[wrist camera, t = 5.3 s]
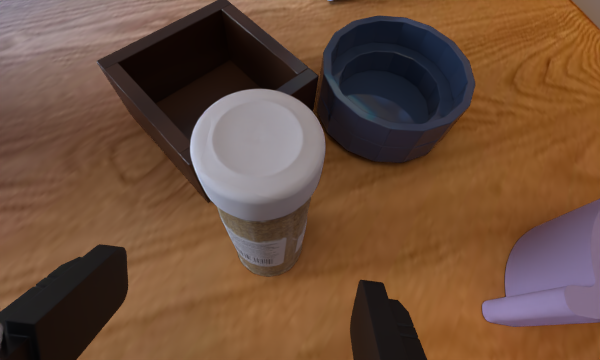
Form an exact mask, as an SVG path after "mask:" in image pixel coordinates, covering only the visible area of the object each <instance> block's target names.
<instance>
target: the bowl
mask: <svg viewBox="0 0 600 360" xmlns="http://www.w3.org/2000/svg"><path fill="white" fill-rule="evenodd" d="M474 88H475V80H474V76H473V73H472V69H471V65H470V62H469V60H468V59H467V58H466V56H465V55H464V54H463V53H462V51H461V50H460V49H459V48H458V46H457V45H456V44H455V43H454V42H453V41H452V40H451V39H449V38H448V37H446V36H445V35H443V34H442V33H440V32H439V31H437V30H436V29H434V28H433V27H431V26H429V25H426V24H423V23H420V22H417V21H414V20H411V19H408V18H404V17H391V16H374V17H369V18H365V19H360V20H355V21H353V22H351V23H350V24H348V25H346V26H345V27H343V28H342V29H340V30H339V31H337V32H335V33H334V35H333V36H332V38H331V40H330V41H329V43H328V45H327V47H326V48H325V50H324V52H323V58H322V64H321V71H320V77H319V83H318V90H317V111H318V114H319V116H320V118H321V120H322V122H323V124H324V127H325V129H326V131H327V132H328V134H329V135H330V136H331V137H333V138H334V139H335V140H336V141H337V142H338V143H339V144H340V145H342V146H343V147H344V148H345V149H346V150H348V151H350V152H352V153H355V154H357V155H360V156H362V157H365V158H367V159H370V160H372V161H377V162H395V163H402V162H406V161H409V160H412V159H415V158H418V157H421V156H424V155H426V154H428V153H429V152H430V151H431V150H432V149H433V148H434V147H435V146H436V145H437V144H438V143H439V142H440V141H441V140H442V139H443V138H444V137H445V135H446V134H447V133H448V132H449V131H450V129H451V128H452V127H453V126H454V124H455V123H456V122H457V121H458V120H459V118H460V117H461V116H462V115H463V114H464V112H465V111H466V110H467V109H468V107H469V106H470V103H471V99H472V96H473V92H474Z"/></svg>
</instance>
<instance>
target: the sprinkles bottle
mask: <svg viewBox="0 0 600 360" xmlns="http://www.w3.org/2000/svg"><path fill="white" fill-rule="evenodd" d="M190 155H191V160H192V163H193V166H194V169H195V172H196V174H197V176H198V179H199V181H200V183H201V185H202V187H203V189H204V191H205V193H206V194H207V196H208V197H209V199H210V200H211V201H212V202H213V203H214V204H215V205H216V206H217V208H218V212H219V215H220V218H221V220H222V222H223V224H224V226H225V228H226V230H227V232H228V234H229V236H230V238H231V240H232V242H233V244H234V246H235V248H236V250H237V253H238V257H239V259H240V260H241V262H242V264H243V265H244V266H245V267H246V268H247V269H248V270H250V271H252V272H253V273H255V274H257V275H261V276H267V277H270V276H276V275H280V274H282V273H284V272H286V271H288V270H289V269H291V268H292V267H293V265H294V264H295V263H296V262H297V260H298V258H299V255H300V253H301V250H302V241H303V238H304V234H305V229H306V224H307V213H308V208H309V204H310V200H311V196H312V194H313V193H314V191H315V189H316V188H317V185H318V183H319V180H320V176H321V172H322V168H323V163H324V157H325V137H324V133H323V129H322V127H321V125H320V123H319V121H318V119H317V117H316V116H315V115H314V113H313V112H312V111H311V110H310V109H309V108H308V107H307V106H306V105H305V104H303V103H302V102H301V101H299V100H297V99H296V98H294V97H292V96H290V95H288V94H285V93H282V92H279V91H275V90H269V89H250V90H243V91H239V92H235V93H232V94H230V95H227V96H225V97H223V98H221V99H219V100H218V101H216V102H215V103H214V104H212V105H211V106H210V107H209V108H208V109H207V110H206V111H205V112H204V113H203V114H202V116H201V117H200V118H199V120H198V121H197V123H196V125H195V127H194V129H193V132H192V136H191V143H190Z"/></svg>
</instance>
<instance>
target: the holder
mask: <svg viewBox="0 0 600 360" xmlns="http://www.w3.org/2000/svg"><path fill="white" fill-rule="evenodd" d="M97 64H98V65H99V67H100V68H101V70H102V71H103V73H104V74H105V76H106V77H107V79H108V80H109V82H110V83H111V85H112V86H113V88H114V89H115V91H116V92H117V94H118V96H119V97H120V99H121V100H122V102H123V103H124V105H125V106H126V108H127V109H128V111H129V112H130V114H131V115H132V116H133V118H134V119H135V120H136V121H137V122H138V123H139V124H140V126H141V127H142V128H143V129H144V130H145V131H146V132H147V134H148V135H149V136H150V137H151V138H152V139H153V140H154V142H155V143H156V144H157V145H158V146H159V147H160V148H161V150H162V151H163V152H164V153H165V154H166V155H167V156H168V158H169V159H170V160H171V161H172V162H173V163H174V164H175V166H176V167H177V168H178V169H179V170H180V171H181V172H182V174H183V175H184V176H185V177H186V178H187V179H188V180H189V182H190V183H191V184H192V185H193V186H194V187H195V188H196V190H197V191H198V192H199V193H200V194H201V195H202V196H203V198H204V199H205V200H206V201H207V202H208V203H209V202H210V201H211V200H210V199H209V197H208V196H207V194H206V193H205V191H204V189H203V187H202V185H201V183H200V181H199V179H198V176H197V174H196V172H195V169H194V166H193V163H192V160H191V155H190V143H191V136H192V132H193V129H194V127H195V125H196V123H197V121H198V120H199V118H200V117H201V116H202V114H203V113H204V112H205V111H206V110H207V109H208V108H209V107H210V106H211V105H212V104H214V103H215V102H216V101H218V100H219V99H221V98H223V97H225V96H227V95H230V94H232V93H235V92H239V91H243V90H250V89H269V90H275V91H279V92H282V93H285V94H288V95H290V96H292V97H294V98H296V99H297V100H299V101H301V102H302V103H303V104H305V105H306V106H307V107H308V108H309V109H310V110H311V111H312V112H313V109H314V102H315V96H316V89H317V83H318V75H317V74H316V73H314V72H313V71H312V70H311V69H310V68H308V67H307V66H306V65H305V64H304V63H302V62H301V61H300V60H299V59H298V58H296V57H295V56H294V55H293V54H292V53H290V52H289V51H288V50H287V49H286V48H284V47H283V46H282V45H281V44H280V43H278V42H277V41H276V40H275V39H274V38H272V37H271V36H270V35H269V34H267V33H266V32H265V31H264V30H263V29H261V28H260V27H259V26H258V25H257V24H255V23H254V22H253V21H252V20H251V19H249V18H248V17H247V16H246V15H245V14H243V13H242V12H241V11H240V10H238V9H237V8H236V7H235V6H234V5H232V4H231V3H230V2H229V1H227V0H217V1H215V2H213V3H211V4H209V5H207V6H205V7H203V8H201V9H199V10H197V11H195V12H193V13H191V14H189V15H187V16H185V17H183V18H181V19H179V20H177V21H175V22H173V23H171V24H169V25H168V26H166V27H164V28H162V29H160V30H158V31H156V32H154V33H152V34H150V35H148V36H146V37H144V38H142V39H140V40H138V41H136V42H134V43H132V44H130V45H128V46H126V47H124V48H122V49H120V50H118V51H116V52H114V53H112V54H110V55H108V56H106V57H104V58H102V59H100V60H98V61H97Z"/></svg>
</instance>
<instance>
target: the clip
mask: <svg viewBox="0 0 600 360" xmlns="http://www.w3.org/2000/svg"><path fill="white" fill-rule="evenodd" d="M505 293H506V297H503V298H498V299H493V300H487V301H485V302H484V303H483V305H482V312H483V316H484V318H485V319H486V320H487V321H489V322H491V323H496V324H502V325H507V326H512V327H521V326H539V325H558V324H577V323H596V322H600V199H598V200H596V201H594V202H591V203H589V204H587V205H584V206H582V207H580V208H578V209H575V210H573V211H571V212H568V213H566V214H564V215H561V216H559V217H557V218H555V219H552V220H550V221H548V222H545V223H543V224H541V225H539V226H536V227H534V228H532V229H531V230H529V231H528V232H526V233H525V234H524V235H523V236H522V237H521V238H520V239H519V240H518V241H517V242H516V244H515V245H514V247H513V249H512V251H511V253H510V255H509V258H508V261H507V265H506V271H505Z"/></svg>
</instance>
